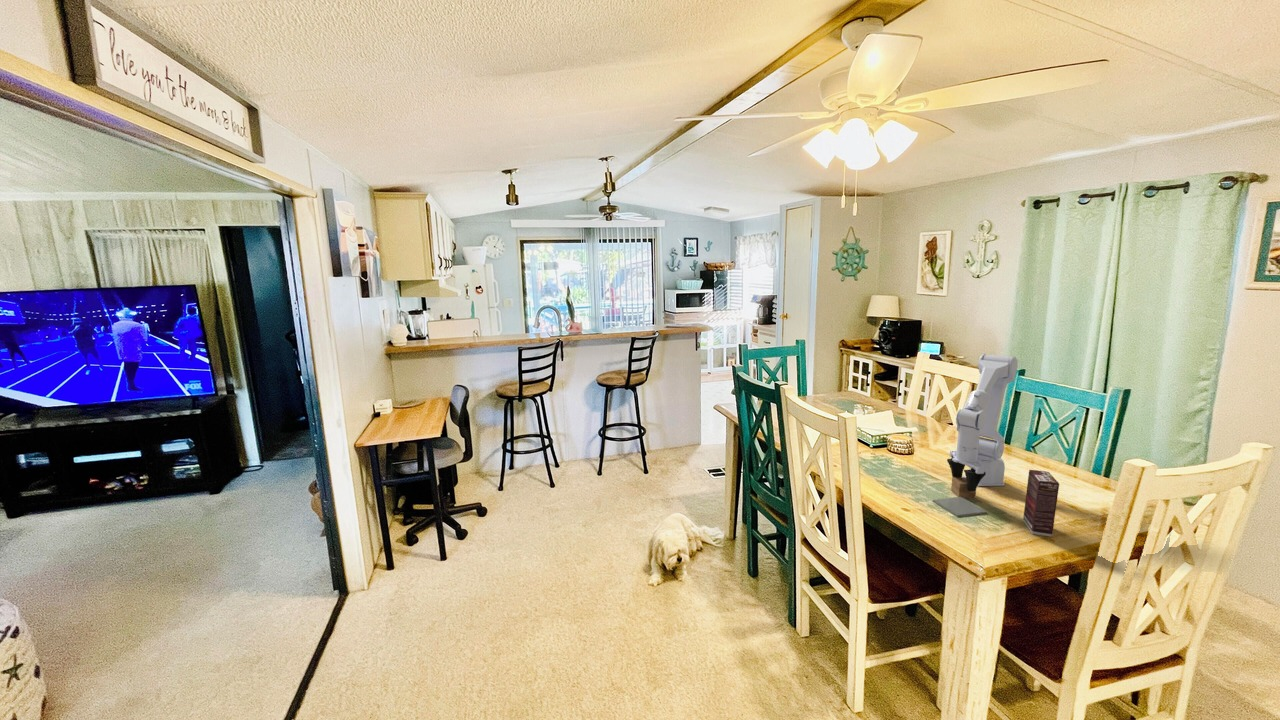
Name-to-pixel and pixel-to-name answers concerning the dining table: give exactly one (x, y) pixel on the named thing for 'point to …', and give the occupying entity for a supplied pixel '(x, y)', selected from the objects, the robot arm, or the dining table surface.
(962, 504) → the slate coaster
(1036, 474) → the supplement box
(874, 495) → the dining table surface
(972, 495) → the walnut cube
